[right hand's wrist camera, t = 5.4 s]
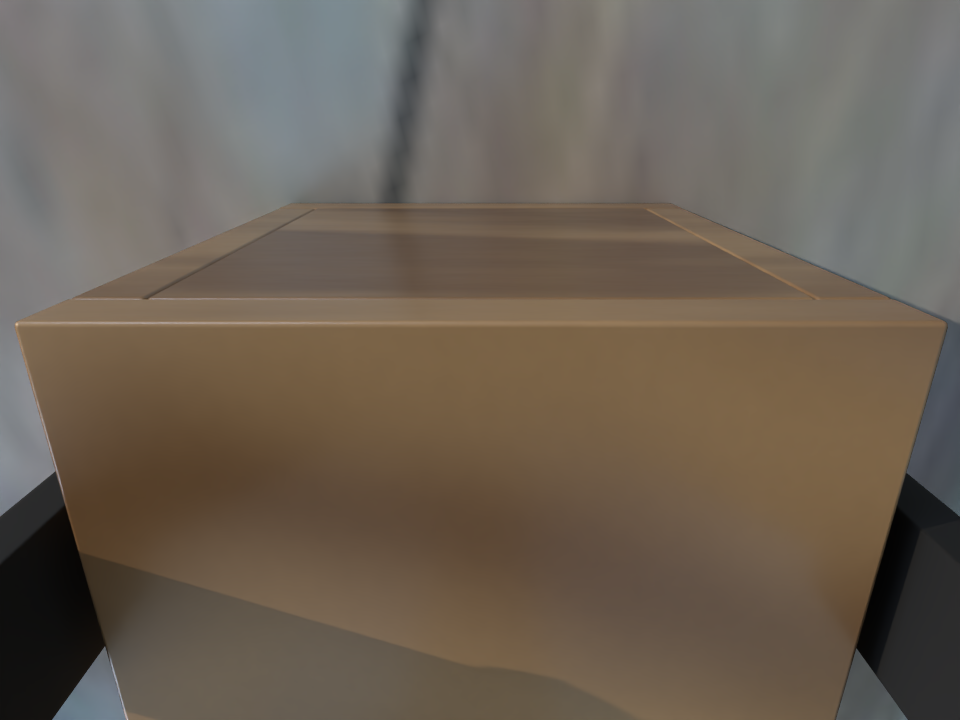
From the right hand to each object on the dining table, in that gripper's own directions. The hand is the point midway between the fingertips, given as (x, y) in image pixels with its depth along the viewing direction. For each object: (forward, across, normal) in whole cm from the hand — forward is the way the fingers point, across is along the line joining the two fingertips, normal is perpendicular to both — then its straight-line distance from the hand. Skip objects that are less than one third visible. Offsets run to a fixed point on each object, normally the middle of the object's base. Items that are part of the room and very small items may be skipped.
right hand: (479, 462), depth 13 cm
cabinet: (+7, 0, -6) cm, 9 cm away
